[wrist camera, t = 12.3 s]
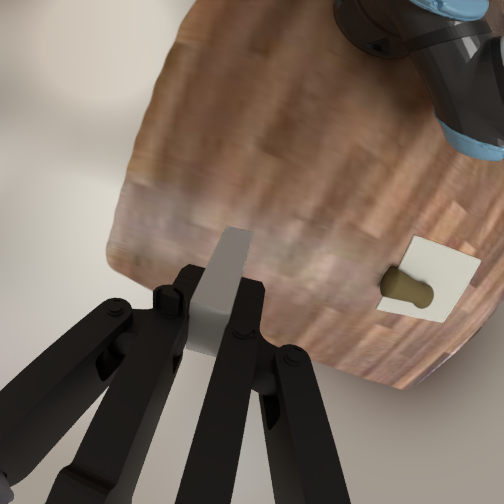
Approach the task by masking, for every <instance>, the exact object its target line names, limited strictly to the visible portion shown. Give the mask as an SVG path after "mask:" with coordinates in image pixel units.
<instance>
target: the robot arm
mask: <svg viewBox="0 0 504 504" xmlns="http://www.w3.org/2000/svg"><path fill="white" fill-rule="evenodd" d="M488 7H489V1H488V0H335V2H334V15H335V19H336V22H337V24H338V26H339V28H340V29H341V31H342V32H343V34H344V35H345V36H346V37H347V38H348V40H349V41H351V42H352V43H353V44H354V45H355V46H357V47H358V48H360V49H361V50H363V51H365V52H367V53H369V54H371V55H374V56H377V57H381V58H389V59H394V58H400V57H404V56H407V55H409V54H410V56H411V58H412V60H413V62H414V64H415V66H416V68H417V70H418V72H419V74H420V77H421V79H422V81H423V83H424V85H425V88H426V90H427V92H428V95H429V97H430V99H431V102H432V104H433V107H434V114H435V117H436V118H437V120H438V122H439V123H440V125H441V128H442V130H443V133H444V136H445V138H446V140H447V141H448V142H449V144H450V145H451V146H452V147H453V148H454V149H455V150H457V151H458V152H460V153H462V154H464V155H466V156H469V157H472V158H476V159H481V160H488V161H501V160H502V158H504V36H499V37H494V35H493V33H491V32H492V31H491V29H490V27H489V25H488V23H487V21H486V19H485V17H484V15H485V13H486V11H487V9H488ZM252 236H253V232H251V231H247V230H243V229H239V228H235V227H231V226H226V228H225V230H224V232H223V234H222V236H221V238H220V240H219V242H218V244H217V246H216V248H215V250H214V253H213V255H212V257H211V259H210V261H209V263H208V265H207V267H206V268H203V267H199V266H195V265H191V264H189V265H187V266H185V267H184V268H182V269H181V271H180V272H179V274H178V277H177V278H176V279H175V281H174V283H173V284H172V285H161V286H159V287H157V288H156V289H155V290H154V291H153V308H152V309H132V307H131V305H130V303H129V302H127V301H126V300H124V299H121V298H111V299H107V300H106V301H104V302H102V303H101V304H100V305H99V306H97V307H96V308H95V309H94V310H92V311H91V312H90V313H89V314H88V315H87V316H85V317H84V318H83V319H82V320H80V321H79V322H78V323H77V324H75V325H74V326H73V327H72V328H71V329H70V330H68V331H67V332H66V333H65V334H64V335H62V336H61V337H60V338H59V339H58V340H56V342H54V343H53V344H52V345H51V346H49V347H48V348H47V349H46V350H45V351H44V352H43V353H41V354H40V355H39V356H38V357H37V358H36V359H35V360H34V361H32V362H31V363H30V364H29V365H28V366H27V367H26V368H25V369H23V370H22V371H21V372H20V373H19V374H18V375H17V376H16V377H15V378H14V379H13V380H12V381H10V382H9V383H8V384H7V385H6V386H5V387H4V388H3V389H2V390H1V391H0V504H8V503H9V502H11V501H13V499H14V494H13V491H12V490H11V488H10V487H11V486H13V485H15V484H17V483H19V482H20V481H21V480H23V479H24V478H25V477H27V476H28V474H30V473H31V472H32V471H33V469H34V468H35V467H36V466H37V465H38V464H39V462H41V460H42V459H43V458H44V457H45V456H46V455H47V454H48V453H49V451H50V450H51V449H52V448H53V447H54V446H55V445H56V444H57V442H58V441H59V440H60V439H61V438H62V437H63V436H64V435H65V434H66V432H67V431H68V430H69V429H70V428H71V427H72V426H73V425H74V423H76V421H77V420H78V419H79V418H80V417H81V416H82V415H83V414H84V413H85V411H86V410H87V409H88V408H89V407H90V406H91V405H92V404H93V403H94V402H95V400H96V399H97V398H98V397H99V396H100V395H101V394H102V393H103V392H104V391H105V389H106V388H107V387H108V386H109V385H110V386H109V388H108V390H107V391H106V393H105V396H104V397H103V399H102V401H101V403H100V405H99V407H98V409H97V411H96V413H95V415H94V417H93V419H92V421H91V423H90V425H89V427H88V430H87V432H86V434H85V436H84V438H83V440H82V442H81V444H80V446H79V449H78V451H77V453H76V455H75V458H74V459H73V461H72V463H71V464H70V465H68V466H66V467H64V468H63V469H62V470H61V471H60V472H59V473H58V475H57V477H56V479H55V482H54V484H53V486H52V489H51V491H50V494H49V496H48V498H47V501H46V503H45V504H131V503H132V496H133V493H134V490H135V487H136V484H137V481H138V478H139V475H140V473H141V470H142V467H143V464H144V461H145V458H146V455H147V452H148V450H149V447H150V444H151V441H152V438H153V436H154V433H155V430H156V427H157V424H158V422H159V419H160V416H161V414H162V411H163V408H164V405H165V403H166V400H167V398H168V395H169V392H170V390H171V387H172V384H173V382H174V378H175V376H176V374H177V371H178V368H179V366H180V363H181V361H182V356H183V349H184V347H185V344H186V349H189V350H193V351H196V352H200V353H203V354H207V355H211V356H215V357H216V361H215V364H214V368H213V371H212V375H211V378H210V382H209V385H208V389H207V393H206V395H205V399H204V402H203V406H202V410H201V413H200V416H199V420H198V424H197V427H196V431H195V434H194V438H193V441H192V445H191V448H190V452H189V455H188V459H187V462H186V465H185V469H184V473H183V476H182V479H181V483H180V487H179V490H178V494H177V497H176V501H175V504H230V503H231V498H232V493H233V488H234V482H235V477H236V472H237V466H238V461H239V456H240V450H241V445H242V439H243V434H244V428H245V422H246V416H247V411H248V405H249V399H250V393H251V389H252V390H254V391H256V392H258V393H259V401H260V407H261V414H262V421H263V428H264V434H265V441H266V447H267V454H268V461H269V467H270V473H271V480H272V486H273V493H274V499H275V504H351V502H350V498H349V494H348V491H347V487H346V483H345V479H344V475H343V472H342V468H341V464H340V461H339V457H338V453H337V450H336V446H335V442H334V439H333V435H332V432H331V428H330V425H329V422H328V418H327V415H326V411H325V407H324V404H323V400H322V397H321V393H320V390H319V387H318V383H317V380H316V376H315V373H314V370H313V367H312V363H311V360H310V357H309V355H308V353H307V352H306V351H305V350H304V349H302V348H301V347H298V346H296V345H291V344H288V345H283V346H281V347H279V348H278V347H276V346H275V345H273V344H271V343H269V342H268V341H266V340H265V339H264V338H263V336H262V335H261V333H260V321H261V315H262V308H263V302H264V295H265V288H264V286H263V283H262V282H260V281H256V280H252V279H248V278H244V277H243V273H244V269H245V265H246V261H247V257H248V253H249V249H250V244H251V240H252Z"/></svg>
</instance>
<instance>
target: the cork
mask: <svg viewBox="0 0 504 504" xmlns="http://www.w3.org/2000/svg"><path fill="white" fill-rule="evenodd" d="M380 291H381V295H382V296H383V297H387V298H391V299H396V300H401V301H405V302H410V303H413V304H414V305H415V306H416V307H417V308H420V309H424V308H427V307H428V306H430V304H431V303H432V301H433V298H434V291H433V289H432V287H431V286H430V285H428V284H426V283H421V284H420V283H419V282H417V281H416V280H414V279H413V278H411V277H410V276H409V275H407V274H406V273H404V272H403V271H401V270H400V269H398V268H396V267H391V268H389V270H388V271H387V272H386V273H385V275H384V277H383V279H382V282H381V287H380Z"/></svg>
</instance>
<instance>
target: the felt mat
mask: <svg viewBox="0 0 504 504" xmlns="http://www.w3.org/2000/svg"><path fill="white" fill-rule="evenodd" d="M480 262H481V259H478V258H476V257H473V256H471V255H468V254H466V253H463V252H460V251H458V250H455V249H453V248H450V247H447V246H445V245H442V244H439V243H437V242H434V241H431V240H428V239H426V238H423V237H420V236H417V235H413V237H412V239H411V242H410V244H409V246H408V248H407V250H406V252H405V254H404V256H403V258H402V260H401V262H400V264H399V266H398V269H400V270H401V271H403V272H404V273H406V274H407V275H409V276H410V277H411V278H413V279H414V280H416V281H417V282H419V283H420V284H421V283H426V284H428V285H430V286H431V287H432V289H433V291H434V298H433V301H432V303H431V304H430V306H428V307H427V308H424V309H420V308H417V307H416V306H415V305H414V304H413V303H410V302H405V301H401V300H396V299H391V298H387V297H383V296H382V298H381V300H380V302H379V303H378V305H377V307H376V309H378V310H383V311H387V312H392V313H397V314H402V315H406V316H411V317H416V318H421V319H426V320H431V321H436V322H441V323H443V322H444V321H445V319H446V318H447V316H448V315H449V313H450V312H451V310H452V309H453V307H454V306H455V304H456V303H457V301H458V300H459V298H460V297H461V295H462V293H463V292H464V290H465V288H466V287H467V285H468V283H469V282H470V280H471V278H472V277H473V275H474V273H475V271H476V270H477V268H478V266H479V264H480Z"/></svg>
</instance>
